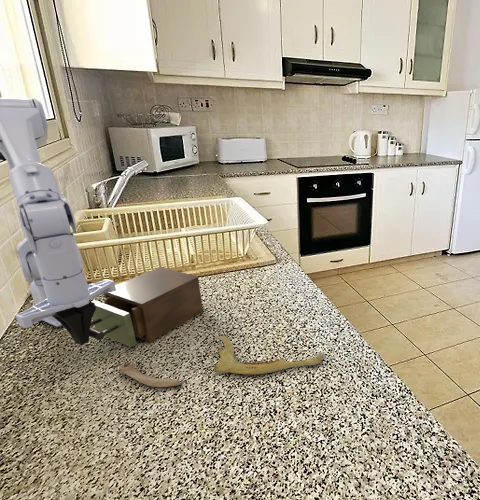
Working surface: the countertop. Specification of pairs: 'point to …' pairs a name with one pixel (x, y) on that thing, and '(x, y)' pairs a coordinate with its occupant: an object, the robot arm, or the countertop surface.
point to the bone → (145, 377)
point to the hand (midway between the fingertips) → (82, 341)
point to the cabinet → (161, 299)
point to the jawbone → (233, 366)
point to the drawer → (117, 321)
